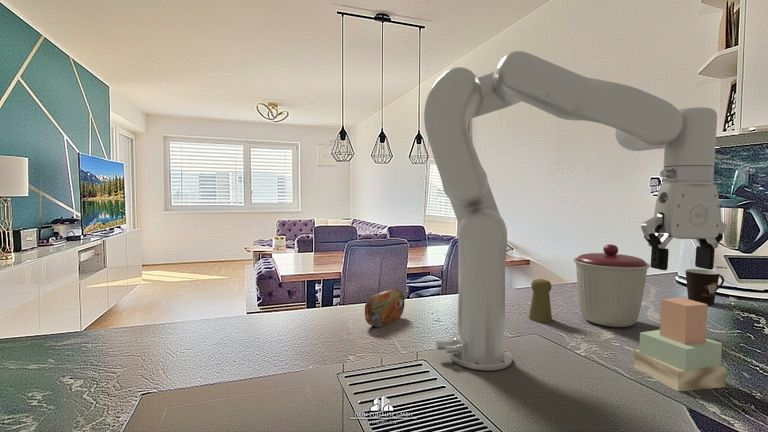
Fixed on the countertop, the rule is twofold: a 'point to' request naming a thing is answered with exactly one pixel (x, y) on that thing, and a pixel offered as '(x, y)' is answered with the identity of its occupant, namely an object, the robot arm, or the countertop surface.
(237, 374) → the countertop surface
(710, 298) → the coffee mug
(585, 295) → the canister
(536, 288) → the cork
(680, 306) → the terracotta block
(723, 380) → the bottom block
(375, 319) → the tin
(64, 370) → the countertop surface
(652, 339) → the top block
